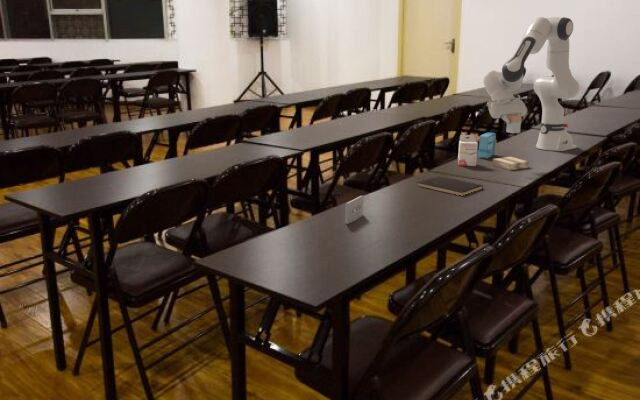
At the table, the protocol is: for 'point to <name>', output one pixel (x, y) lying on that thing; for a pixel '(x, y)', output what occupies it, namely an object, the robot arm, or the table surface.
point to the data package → (487, 145)
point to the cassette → (353, 213)
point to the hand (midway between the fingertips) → (514, 123)
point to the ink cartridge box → (467, 151)
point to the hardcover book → (450, 185)
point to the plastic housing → (514, 124)
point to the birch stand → (510, 163)
